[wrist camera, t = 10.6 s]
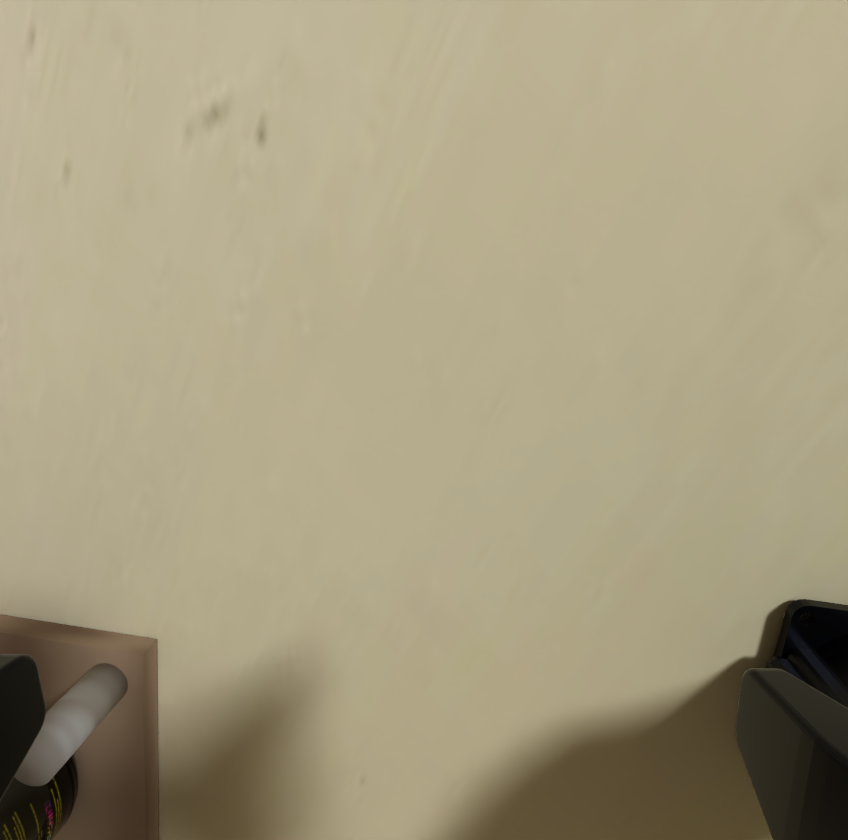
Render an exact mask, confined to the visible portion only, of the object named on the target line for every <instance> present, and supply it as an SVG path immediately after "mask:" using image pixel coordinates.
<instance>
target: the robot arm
mask: <svg viewBox="0 0 848 840" xmlns="http://www.w3.org/2000/svg"><path fill="white" fill-rule="evenodd" d="M809 612H810V615H809V616H808V618H806V619H804V620H799V618H800V617H801V615H802V614H804V613H809ZM45 715H46V704H45V699H44V695H43V690H42V685H41V681H40V676H39V671H38V667H37V663H36V661H35V660H34V658H33V657H32V656H29V655H27V654H0V801H1V799H2V798H3V796H4V794H5V792H6V790H7V789H8V787H9V785H10V783H11V782H12V780H13V778H14V776H15V775H16V773H17V771H18V769H19V767H20V766H21V764H22V762H23V760H24V759H25V757H26V755H27V753H28V752H29V750H30V748H31V746H32V744H33V743H34V741H35V739H36V737H37V736H38V734H39V732H40V730H41V728H42V726H43V723H44V720H45ZM735 727H736V738H737V742H738V746H739V749H740V751H741V754H742V757H743V760H744V762H745V765H746V768H747V770H748V773H749V776H750V778H751V781H752V784H753V787H754V789H755V792H756V795H757V797H758V800H759V803H760V805H761V808H762V811H763V814H764V816H765V819H766V822H767V824H768V827H769V830H770V832H771V835H772V838H773V840H848V605H842V604H835V603H828V602H821V601H813V600H806V599H802V600H797V601H794V602H792V603H791V604H790V605H789V606H788V608H787V610H786V613H785V616H784V620H783V624H782V627H781V631H780V635H779V639H778V642H777V646H776V650H775V653H774V657H772V658H771V659H770V661H769V662H768V663H767V667H766V668H749V669H748V670H746V671H745V672H744V674H743V676H742V680H741V686H740V694H739V701H738V709H737V716H736V726H735Z"/></svg>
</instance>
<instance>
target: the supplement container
mask: <svg viewBox="0 0 848 840" xmlns="http://www.w3.org/2000/svg"><path fill="white" fill-rule="evenodd" d="M78 787H79V776H78V769H77V764H76V760H75V757H74V754H73V755H72V756H71V757H70V758H69V759H68V761H67V762H66V763H65V764H64V765H63V766H62V767H61V769H60V770H59V771H58V772H57V773H56V774H55V775H54V777H53V778H52V779H51V780H50V781H49V782H48V783H47V784H45V785H42V786H29V785H26V784H24V783H22V782H20V781H18V780H17V779H16V778H15V777H14V778H13V780H12V782H11V783H10V785H9V787H8V789H7V790H6V792H5V794H4V796H3V798H2V799H1V801H0V840H53V839H54V838H55V837H56V835H57V834H58V833H59V831H60V830H61V829H62V828H63V826H64V825H65V824H66V822H67V821H68V819H69V818H70V816H71V814H72V811H73V808H74V805H75V803H76V799H77V795H78Z"/></svg>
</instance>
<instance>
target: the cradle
mask: <svg viewBox="0 0 848 840" xmlns="http://www.w3.org/2000/svg"><path fill="white" fill-rule="evenodd" d="M0 654H27V655H29V656H32V657H33V658H34V660H35V661H36V663H37V667H38V671H39V676H40V681H41V685H42V690H43V695H44V699H45V704H46V715H45V720H44V723H43V726H42V728H41V730H40V732H39V734H38V736H37V737H36V739H35V741H34V743H33V744H32V746H31V748H30V750H29V752H28V753H27V755H26V757H25V759H24V760H23V762H22V764H21V766H20V767H19V769H18V771H17V773H16V775H15V776H14V777H15V778H16V779H17V780H18V781H20V782H22V783H24V784H26V785H29V786H42V785H45V784H47V783H48V782H49V781H50V780H51V779H52V778H53V777H54V775H55V774H56V773H57V772H58V771H59V770H60V769H61V767H62V766H63V765H64V764H65V763H66V762H67V761H68V759H69V758H70V757H71V756H72V755H73V754H74V757H75V760H76V764H77V769H78V776H79V787H78V795H77V799H76V803H75V805H74V808H73V811H72V814H71V816H70V818H69V819H68V821H67V822H66V824H65V825H64V826H63V828H62V829H61V830H60V831H59V833H58V834H57V835H56V837H55V838H54V839H53V840H159V790H158V664H157V639H152V638H145V637H139V636H133V635H126V634H120V633H114V632H107V631H101V630H95V629H88V628H82V627H76V626H69V625H63V624H56V623H50V622H44V621H37V620H31V619H25V618H18V617H12V616H6V615H0Z"/></svg>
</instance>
